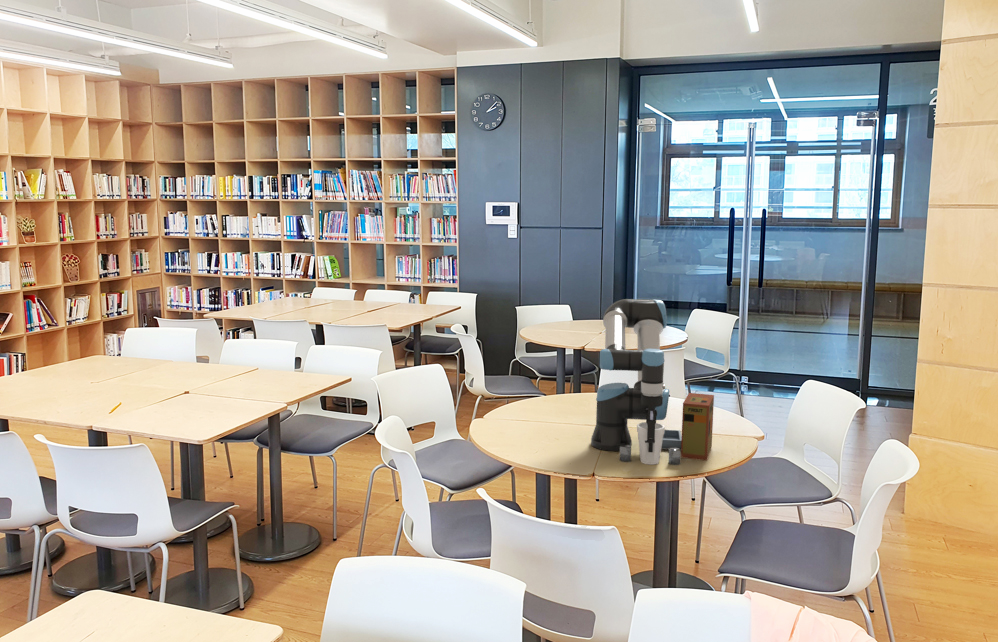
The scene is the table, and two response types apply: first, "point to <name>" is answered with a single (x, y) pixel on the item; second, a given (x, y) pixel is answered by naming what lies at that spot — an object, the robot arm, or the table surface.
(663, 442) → the tray
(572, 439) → the table surface
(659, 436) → the foam cup
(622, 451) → the metal cylinder
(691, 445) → the box
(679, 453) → the shiny gray cylinder
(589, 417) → the table surface
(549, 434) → the table surface
